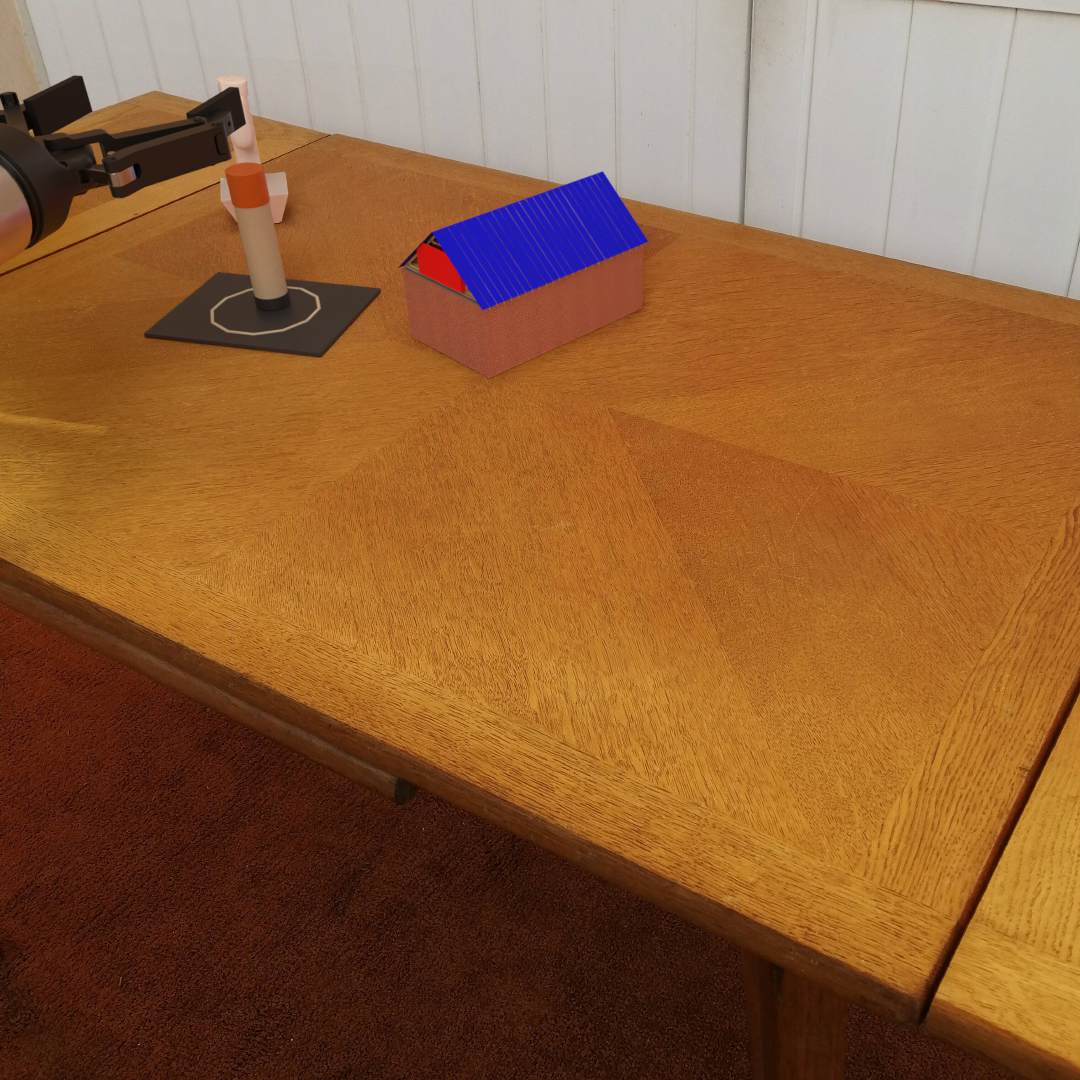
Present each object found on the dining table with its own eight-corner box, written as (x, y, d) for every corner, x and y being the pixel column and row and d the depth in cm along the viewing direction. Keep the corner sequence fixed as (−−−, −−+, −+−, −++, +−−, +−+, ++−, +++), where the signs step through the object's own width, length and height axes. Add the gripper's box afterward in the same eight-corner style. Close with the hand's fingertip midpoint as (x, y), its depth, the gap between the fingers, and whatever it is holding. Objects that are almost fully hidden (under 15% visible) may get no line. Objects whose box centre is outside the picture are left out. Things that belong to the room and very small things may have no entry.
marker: (249, 309, 108) (217, 173, 100) (265, 294, 110) (236, 160, 102) (281, 312, 107) (252, 176, 99) (297, 297, 110) (269, 163, 101)
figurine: (291, 200, 131) (264, 62, 121) (295, 230, 124) (267, 87, 114) (227, 206, 129) (195, 68, 120) (228, 237, 122) (194, 93, 113)
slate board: (144, 337, 105) (143, 332, 104) (218, 275, 115) (217, 270, 115) (320, 357, 101) (320, 352, 101) (381, 291, 111) (380, 287, 111)
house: (647, 308, 108) (649, 187, 100) (488, 381, 97) (477, 252, 90) (563, 271, 115) (559, 156, 107) (406, 336, 104) (389, 213, 96)
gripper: (-152, 237, 77) (37, 136, 93) (171, 273, 72) (313, 160, 88) (-204, 124, 72) (5, 38, 88) (139, 155, 67) (296, 57, 83)
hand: (159, 99), depth 88 cm, fingers open, 13 cm apart
